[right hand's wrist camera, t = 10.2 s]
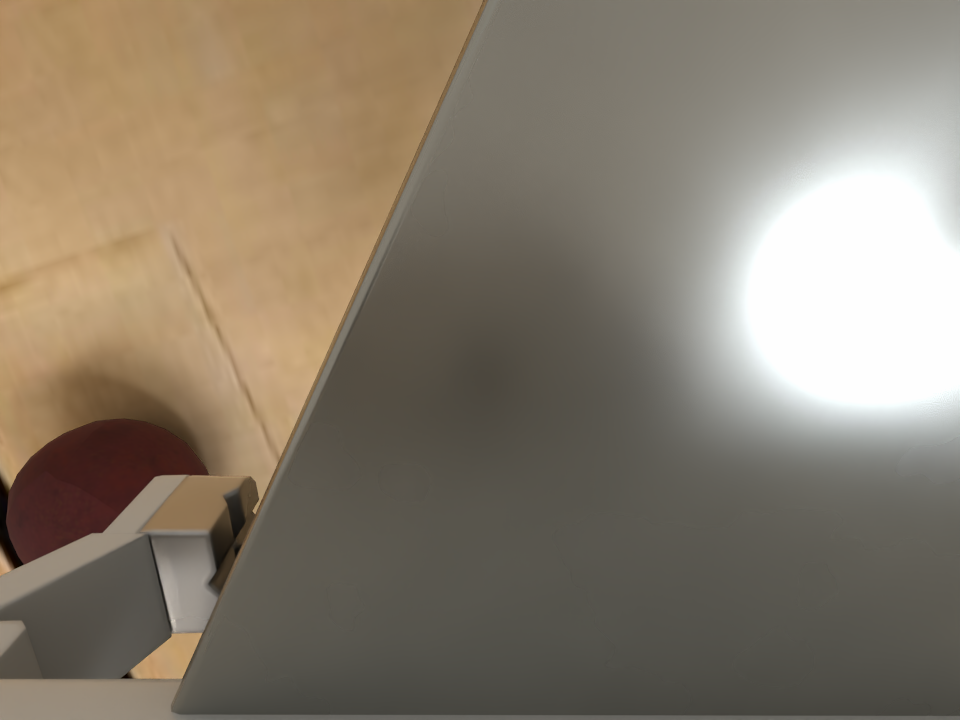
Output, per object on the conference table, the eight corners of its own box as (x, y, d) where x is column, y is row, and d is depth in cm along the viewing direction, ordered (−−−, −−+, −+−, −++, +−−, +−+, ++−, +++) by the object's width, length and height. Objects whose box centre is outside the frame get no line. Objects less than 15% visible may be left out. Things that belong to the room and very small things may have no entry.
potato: (135, 360, 26) (21, 438, 20) (276, 469, 28) (215, 572, 22) (47, 463, 28) (-84, 566, 22) (185, 559, 30) (103, 680, 24)
